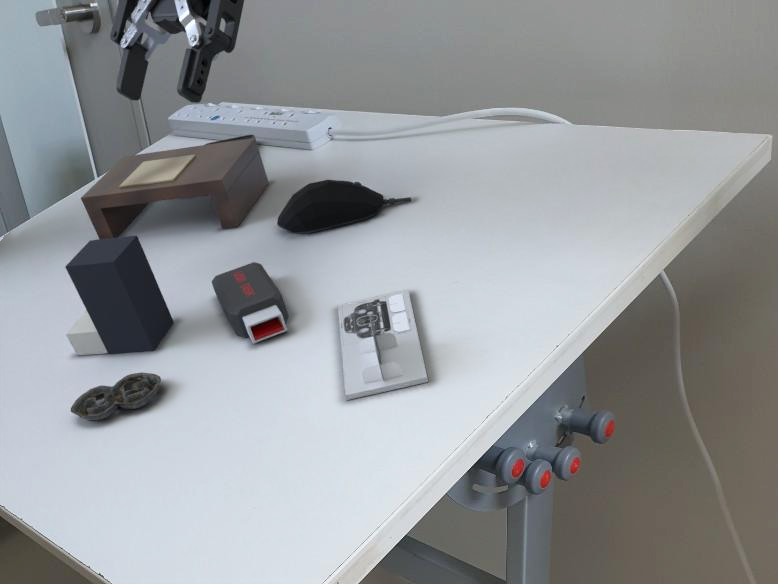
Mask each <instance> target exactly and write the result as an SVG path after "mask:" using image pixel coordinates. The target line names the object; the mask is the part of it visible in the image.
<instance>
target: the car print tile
mask: <svg viewBox="0 0 778 584" xmlns="http://www.w3.org/2000/svg"><path fill="white" fill-rule="evenodd" d="M337 315H338V317H337V318H338V329H339V330H338V331H339V340H340V351H341V363H342V374H343V386H344V396H345V397H344V398H345V400H346V401H349V400H350V401H351V400H354V399H358V398H363V397H368V396H372V395H377V394H381V393H385V392H390V391H394V390H399V389H403V388H408V387H412V386H416V385H421V384H425V383H429V378H428V373H427V369H426V365H425V360H424V354H423V351H422V345H421V341H420V337H419V332H418V328H417V323H416V319H415V313H414V309H413V305H412V300H411V295H410V291H409V289H405V290H401V291H396V292H392V293H391V292H390V293H387V294H383V295H379V296H374V297H371V298H369V297H368V298H366V299H365V298H364V299H361V300H356V301H352V302H349V303H344V304H340V305H337Z"/></svg>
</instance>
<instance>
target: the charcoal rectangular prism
mask: <svg viewBox="0 0 778 584" xmlns="http://www.w3.org/2000/svg"><path fill="white" fill-rule="evenodd" d="M140 241H141V240H140V239H139V236H138V235H126V236H119V237H117V238H108V239H100V240H99V239H92V240H89V241H87V243H86V244H85V245H84V246H83V247H82V248H81V249H80V250H79V251H78V252H77V253H76V254H75V256H73V258H72V259H70V261H69V262H68V263H67V264H66V265H65V266H64V267H65V270H66V271H67V273H68V275H69V278H70V280H71V282H72V284H73V286H74V287H75V290H76V292H77V294H78V296H79V298H80V300H81V302H82V304H83V306H84V308H85V311H84V312H83V313H82V314H81V315H80V317H79V318H78V319H77V320H76V321H75V322H74V324H73V325H72V326H71V327H70V329H68V331H67V332H66V333H65V336H66V338H67V339H68V341H69V343H70V345H71V347H72V349H73V351H74V353H75V354H76V356H88V355H89V356H91V355H100V354H101V355H103V354H123V353H124V354H125V353H136V352H153V351H155V350H156V348H157V347H159V344H160V343H161V341H162V340H163V338H165V336H166V334H167V333H168V331H169V330H170V329H171V327H172V326H173V325H174V323H175V321H174V319H173V317H172V315H171V312H170V310H169V307H168V305H167V302H166V300H165V298H164V296H163V295H164V294H163V293H162V291H161V288H160V286H159V284H158V281H157V279H156V277H155V274H154V271H153V269H152V267H151V265H150V262H149V260H148V258H147V256H146V253H145V250H144V249H143V246H142V243H141V242H140Z"/></svg>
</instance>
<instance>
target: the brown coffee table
mask: <svg viewBox="0 0 778 584" xmlns="http://www.w3.org/2000/svg"><path fill="white" fill-rule="evenodd" d="M269 184H270V183H269V180H268V176H267V172H266V169H265V166H264V163H263V159H262V156H261V152H260V149H259V146H258V142H257V139H256V137H255V138H250V139H243V140H236V141H229V142H222V143H215V144H208V145H205V144H202V145H201V144H200V145H195V146H188V147H181V148H175V149H167V150H166V149H165V150H160V151H154V152H153V151H151V152H147V153H146V152H145V153H140V154H139V153H138V154H132V155H124V156H122V157H121V158H120V159H119V160H118V161H117V162H116V163H115V164H114V165H113V166H112V167H110V169H109V170H107V172H106V173H105V174H104V175H102V177H101V178H99V180H97V182H95V183H94V184H93V185H92V186H91V187H90V188H89V189H88V190H87V191H86V192H85V193H84V194H83V195H82V196H81V197H80V200H81V202H82V205H83V206H84V209H85V211H86V213H87V215H88V218H89V220H90V222H91V224H92V227H93V228H94V230H95V233H96V235H97V237H98V240H100V239H108V238H117V237H121V235H123V233H124V232H125V231H126V230H127V229H128V228H129V227H130V225H131V224H132V223H133V222H134V221H135V220H136V219H137V218H138V217H139V216H140V215H141V214H142V212H143V211H144V210H145V209H146V208H147V207H148V206H149V204H150V203H155V202H164V201H171V200H181V199H187V198H188V199H189V198H195V197H203V196H205V197H206V196H210V199H211V202H212V205H213V207H214V211H215V213H216V216H217V219H218V221H219V224H220V227H221V229H222V230H224V229H234V228H238V227H239V226H240V224H241V223H242V222H243V220H244V219H245V217H246V216H247V215H248V213H249V212H250V210H251V209H252V208H253V206H254V205H255V203H256V202H257V201H258V199H259V198H260V197H261V195H262V193H263V192H264V191H265V189H266V188H267V187H268V186H269Z"/></svg>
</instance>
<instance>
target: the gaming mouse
mask: <svg viewBox="0 0 778 584" xmlns="http://www.w3.org/2000/svg"><path fill="white" fill-rule="evenodd" d="M411 201H412V197H410V196H409V197H404V198H403V197H401V198H395V197H391V198H388V199H387V198H384V195H383V194H381V193H379V192H377V191H375V190H374V189H371V188H369V187H367V186H365V185H362V183H361V182H359V181H354V182H352V181H349V180H339V179H324V180H318V181H313V182H309V183H308V184H306V185H304V186H303V187H301V189H299V190H297V191H295V192H294V193H292V195H291V197H290V198H289V200H288V201H287V203H286V205H285V206H284V207H283V209H282V210H281V212H280V214H279V215H278V217H277V222H276V225H277V226H278V227H279V228H280V229H283V230H285V231H287V232H289V233H290V232H291V233H294V234H295V233H296V234H305V233H306V234H308V233H314V232H319V231H323V230H328V229H331V228H335V227H339V226H344V225H349V224H353V223H356V222H360V221H365V220H367V219H369V218H371V217H373V216H376V214H377V213H379V211H380V210H382V208H383V207H384V206H385V205H394V204H396V203H405V202H411Z"/></svg>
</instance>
